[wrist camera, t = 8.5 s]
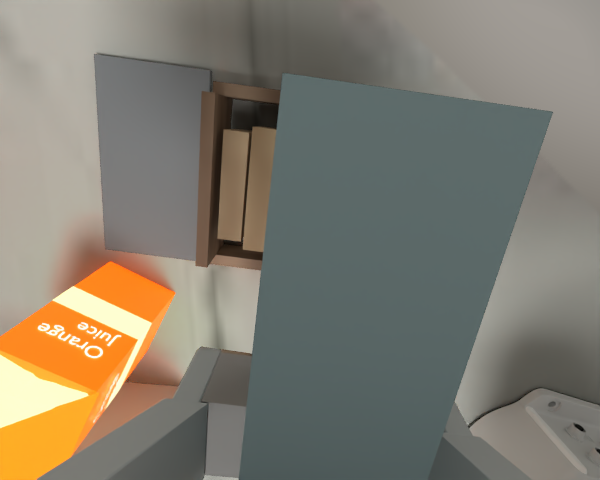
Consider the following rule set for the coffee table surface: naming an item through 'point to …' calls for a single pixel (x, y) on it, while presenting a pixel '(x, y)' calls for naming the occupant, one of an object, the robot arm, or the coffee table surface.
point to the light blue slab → (376, 273)
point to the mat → (149, 154)
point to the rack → (210, 161)
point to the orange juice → (72, 366)
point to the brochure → (126, 408)
